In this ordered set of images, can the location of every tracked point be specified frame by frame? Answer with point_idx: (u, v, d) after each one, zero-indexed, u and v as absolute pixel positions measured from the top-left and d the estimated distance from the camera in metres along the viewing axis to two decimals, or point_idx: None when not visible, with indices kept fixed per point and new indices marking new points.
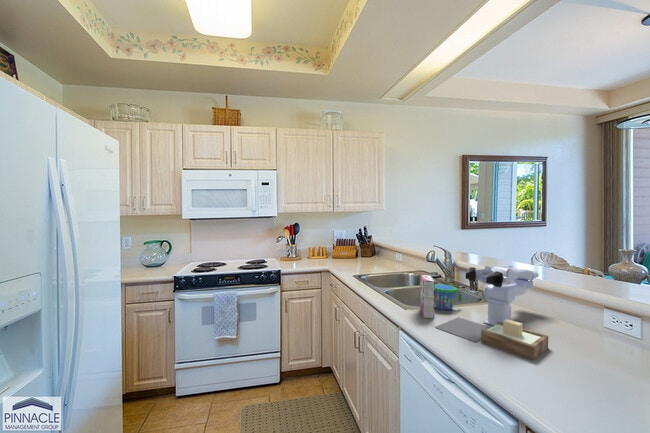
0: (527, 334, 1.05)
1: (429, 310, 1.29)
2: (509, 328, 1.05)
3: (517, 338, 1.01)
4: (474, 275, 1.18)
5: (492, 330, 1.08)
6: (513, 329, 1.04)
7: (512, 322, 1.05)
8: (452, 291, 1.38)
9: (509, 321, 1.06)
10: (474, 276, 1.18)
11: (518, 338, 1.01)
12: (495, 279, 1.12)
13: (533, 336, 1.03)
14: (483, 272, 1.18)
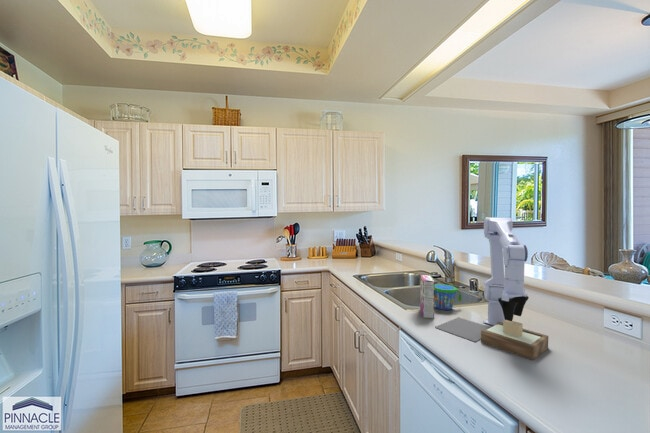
0: (527, 334, 1.05)
1: (429, 310, 1.29)
2: (509, 328, 1.05)
3: (517, 338, 1.01)
4: None
5: (492, 330, 1.08)
6: (513, 329, 1.04)
7: (512, 322, 1.05)
8: (452, 291, 1.38)
9: (509, 321, 1.06)
10: None
11: (518, 338, 1.01)
12: None
13: (533, 336, 1.03)
14: None
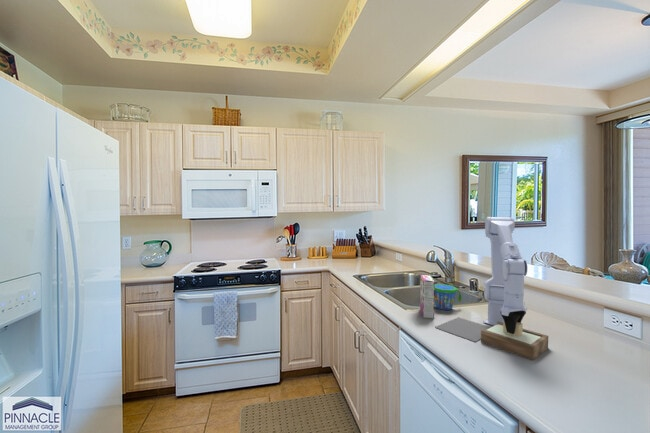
0: (527, 334, 1.05)
1: (429, 310, 1.29)
2: None
3: (517, 338, 1.01)
4: None
5: (492, 330, 1.08)
6: None
7: None
8: (452, 291, 1.38)
9: None
10: None
11: (518, 338, 1.01)
12: None
13: (533, 336, 1.03)
14: None
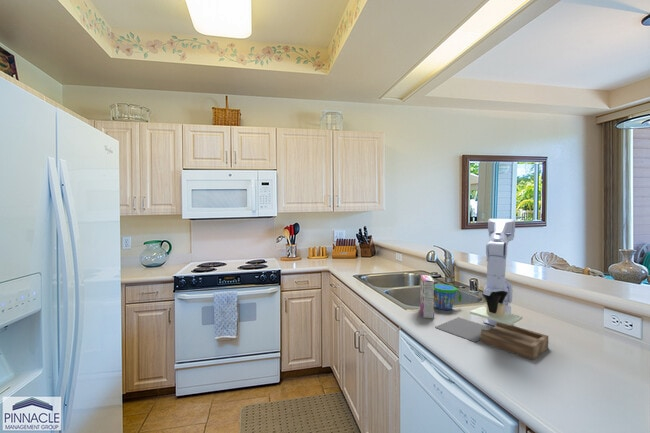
0: (509, 314, 1.09)
1: (429, 310, 1.29)
2: None
3: (499, 317, 1.06)
4: None
5: (476, 311, 1.12)
6: None
7: None
8: (452, 291, 1.38)
9: None
10: None
11: (500, 317, 1.06)
12: None
13: (515, 316, 1.07)
14: None
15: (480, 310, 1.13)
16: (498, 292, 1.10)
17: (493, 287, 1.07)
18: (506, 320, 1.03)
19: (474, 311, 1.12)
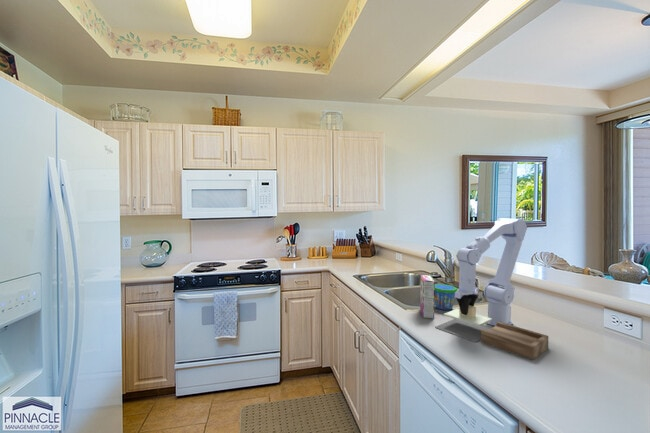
0: (480, 316, 1.17)
1: (429, 310, 1.29)
2: None
3: (470, 319, 1.14)
4: None
5: (450, 313, 1.20)
6: None
7: None
8: (452, 291, 1.38)
9: None
10: None
11: (471, 319, 1.14)
12: None
13: (485, 318, 1.16)
14: None
15: (454, 312, 1.21)
16: (470, 295, 1.19)
17: (464, 291, 1.16)
18: (476, 322, 1.12)
19: (448, 313, 1.20)
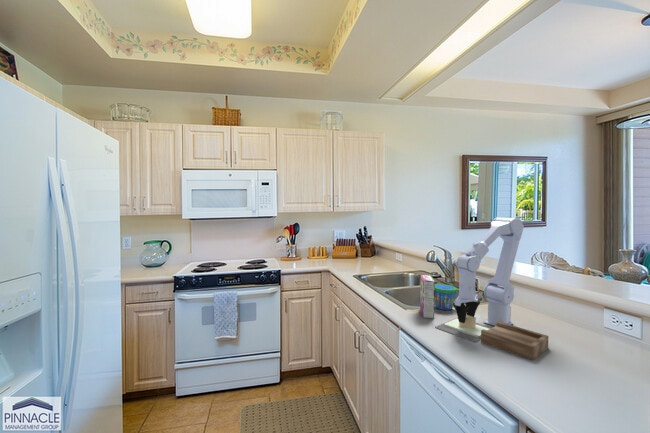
0: (480, 327, 1.17)
1: (429, 310, 1.29)
2: None
3: (470, 330, 1.14)
4: None
5: (450, 323, 1.20)
6: (467, 322, 1.16)
7: (467, 316, 1.18)
8: (452, 291, 1.38)
9: None
10: None
11: (470, 330, 1.14)
12: None
13: (485, 328, 1.16)
14: None
15: (454, 322, 1.22)
16: (471, 301, 1.20)
17: (464, 298, 1.16)
18: (475, 333, 1.12)
19: (448, 323, 1.20)
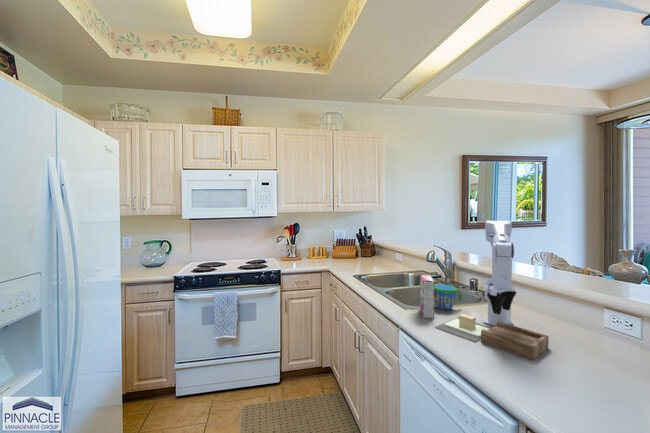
0: (480, 327, 1.17)
1: (429, 310, 1.29)
2: (464, 321, 1.17)
3: (470, 330, 1.14)
4: None
5: (450, 323, 1.20)
6: (467, 322, 1.16)
7: (467, 316, 1.18)
8: (452, 291, 1.38)
9: (464, 315, 1.19)
10: None
11: (470, 330, 1.14)
12: None
13: (485, 328, 1.16)
14: None
15: (454, 322, 1.22)
16: (507, 291, 1.13)
17: (500, 287, 1.09)
18: (475, 333, 1.12)
19: (448, 323, 1.20)
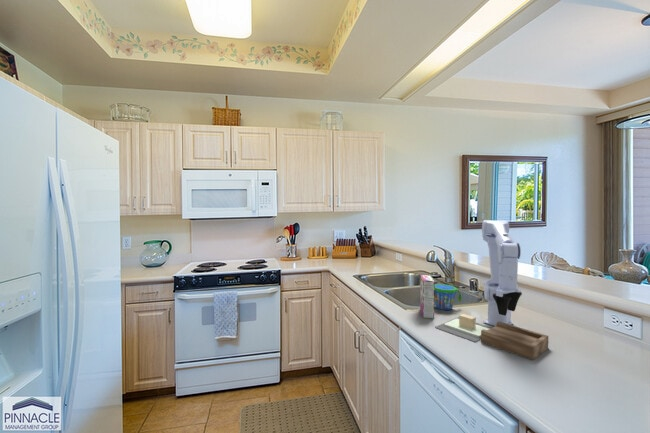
0: (480, 327, 1.17)
1: (429, 310, 1.29)
2: (464, 321, 1.17)
3: (470, 330, 1.14)
4: None
5: (450, 323, 1.20)
6: (467, 322, 1.16)
7: (467, 316, 1.18)
8: (452, 291, 1.38)
9: (464, 315, 1.19)
10: None
11: (470, 330, 1.14)
12: None
13: (485, 328, 1.16)
14: None
15: (454, 322, 1.22)
16: (512, 292, 1.12)
17: (505, 288, 1.08)
18: (475, 333, 1.12)
19: (448, 323, 1.20)
